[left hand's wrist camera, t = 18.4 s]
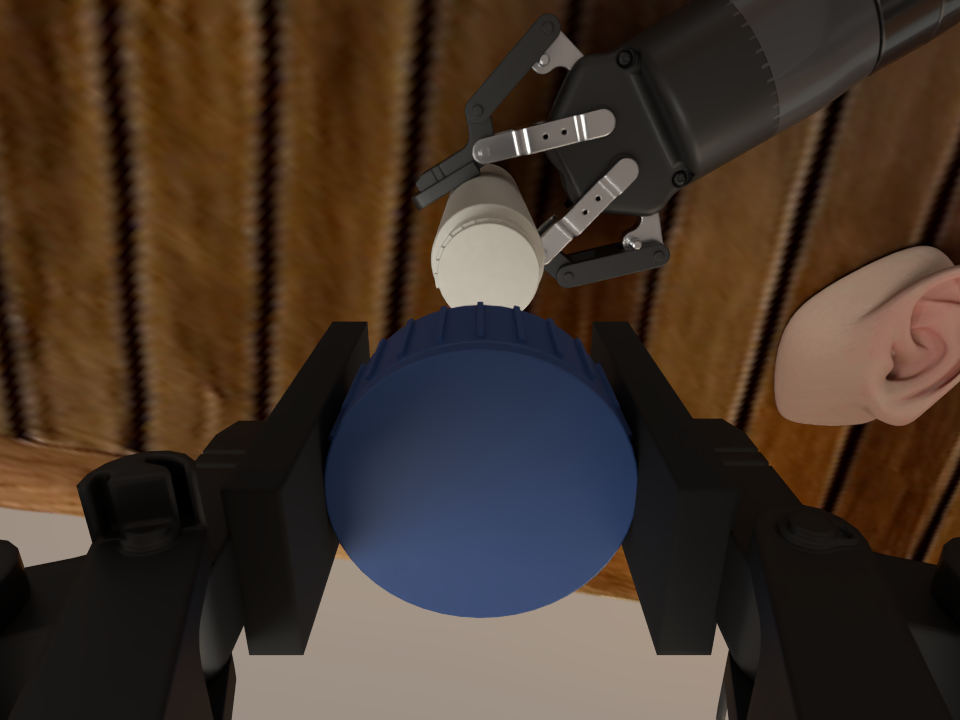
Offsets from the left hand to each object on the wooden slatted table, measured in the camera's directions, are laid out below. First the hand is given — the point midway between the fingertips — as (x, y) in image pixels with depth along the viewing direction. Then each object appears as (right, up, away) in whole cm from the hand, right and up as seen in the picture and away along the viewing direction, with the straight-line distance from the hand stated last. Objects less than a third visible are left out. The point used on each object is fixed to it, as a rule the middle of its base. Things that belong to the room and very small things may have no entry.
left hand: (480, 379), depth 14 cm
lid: (0, -2, -4) cm, 4 cm away
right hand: (-2, +7, +20) cm, 21 cm away
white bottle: (0, +10, +25) cm, 27 cm away
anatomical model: (+26, +2, +29) cm, 39 cm away
